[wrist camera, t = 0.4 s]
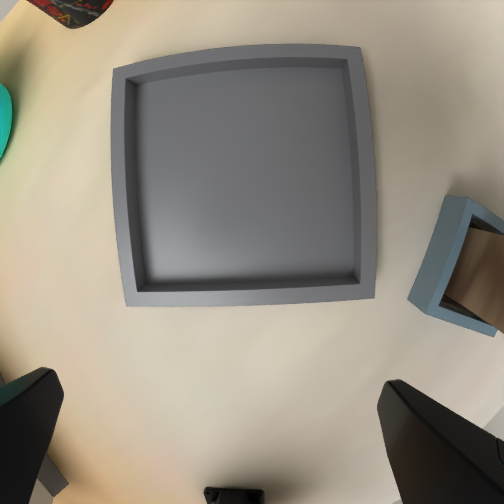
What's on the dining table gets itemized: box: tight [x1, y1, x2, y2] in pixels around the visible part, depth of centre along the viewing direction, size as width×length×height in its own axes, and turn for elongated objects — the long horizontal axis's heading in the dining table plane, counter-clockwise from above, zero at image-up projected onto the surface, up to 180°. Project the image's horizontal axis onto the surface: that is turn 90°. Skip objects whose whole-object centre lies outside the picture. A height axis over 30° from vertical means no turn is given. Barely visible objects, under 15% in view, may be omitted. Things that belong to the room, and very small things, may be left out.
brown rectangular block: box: [444, 227, 504, 333], centre depth 15 cm, size 5×5×10 cm
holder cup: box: [408, 196, 504, 337], centre depth 18 cm, size 8×8×3 cm
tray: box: [111, 44, 377, 307], centre depth 18 cm, size 16×16×2 cm
